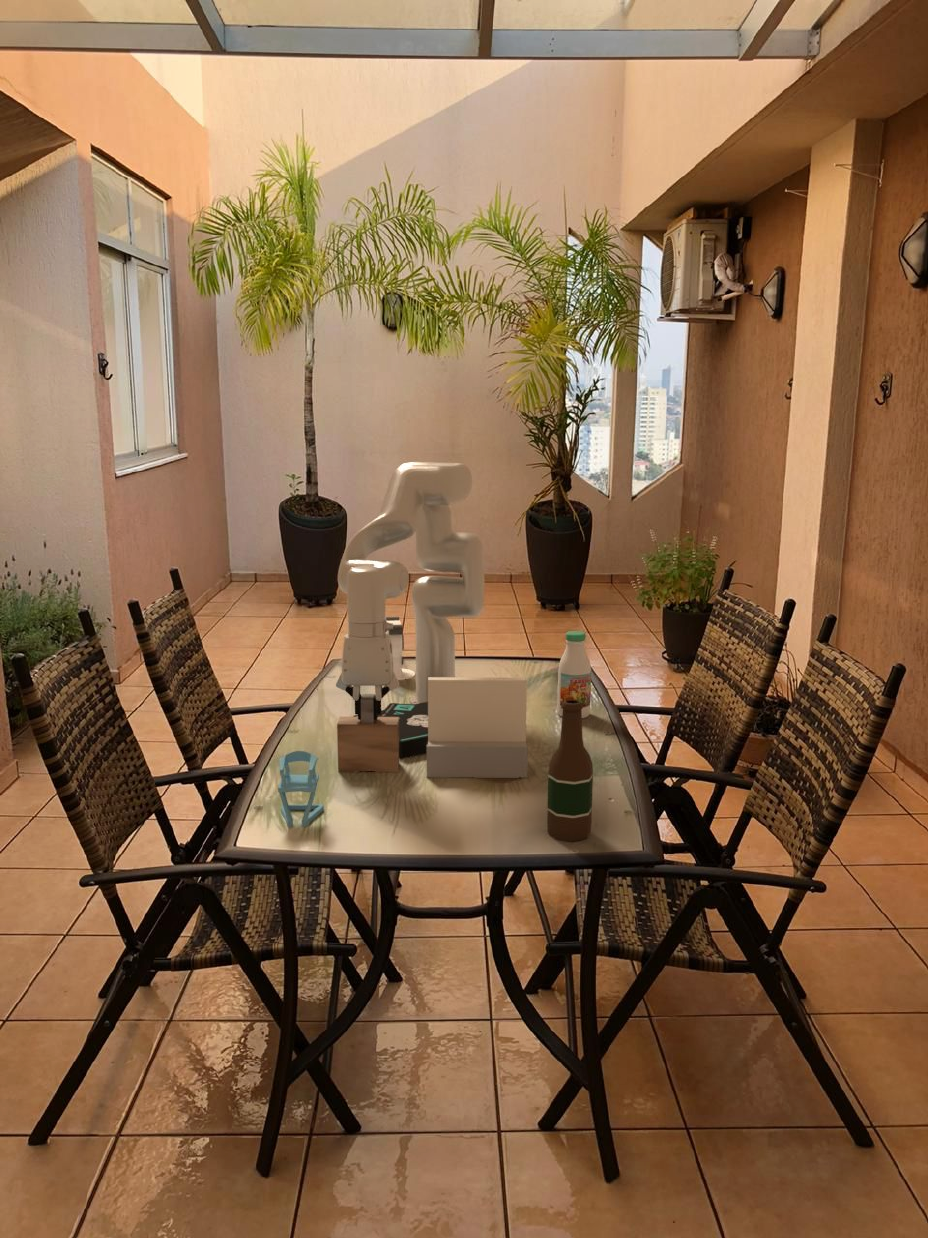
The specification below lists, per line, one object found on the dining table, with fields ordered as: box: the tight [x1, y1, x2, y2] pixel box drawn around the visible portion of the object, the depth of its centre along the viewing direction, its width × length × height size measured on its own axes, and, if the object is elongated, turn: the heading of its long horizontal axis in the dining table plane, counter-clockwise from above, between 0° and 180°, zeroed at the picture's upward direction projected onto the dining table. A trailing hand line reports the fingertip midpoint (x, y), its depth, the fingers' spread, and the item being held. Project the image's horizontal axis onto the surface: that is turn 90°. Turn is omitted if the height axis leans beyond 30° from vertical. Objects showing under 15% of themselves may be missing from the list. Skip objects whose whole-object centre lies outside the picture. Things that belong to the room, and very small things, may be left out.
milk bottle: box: [556, 630, 592, 719], centre depth 250 cm, size 8×8×20 cm
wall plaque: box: [352, 702, 428, 760], centre depth 236 cm, size 30×4×30 cm
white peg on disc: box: [386, 616, 416, 681], centre depth 284 cm, size 12×11×15 cm
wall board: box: [426, 676, 529, 779], centre depth 214 cm, size 10×20×18 cm, turn 89°
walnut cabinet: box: [336, 693, 400, 773], centre depth 215 cm, size 5×12×15 cm, turn 90°
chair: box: [277, 750, 324, 828], centre depth 190 cm, size 8×8×12 cm
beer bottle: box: [546, 699, 594, 843], centre depth 183 cm, size 8×8×24 cm
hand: (368, 717), depth 215 cm, fingers closed on walnut cabinet, 2 cm apart
